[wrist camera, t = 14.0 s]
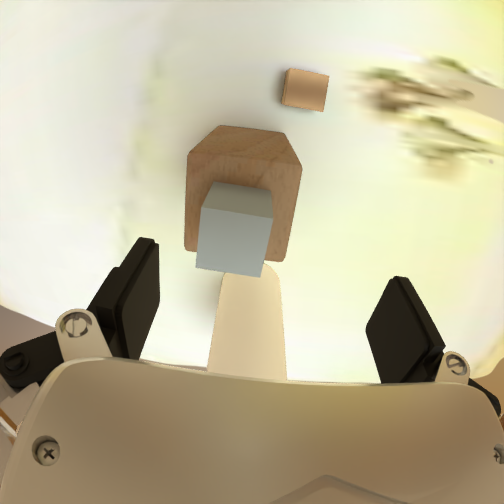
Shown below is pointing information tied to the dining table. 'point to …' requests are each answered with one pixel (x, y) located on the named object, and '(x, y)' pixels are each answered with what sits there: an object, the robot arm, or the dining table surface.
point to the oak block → (305, 89)
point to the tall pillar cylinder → (249, 328)
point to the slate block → (234, 229)
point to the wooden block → (244, 178)
